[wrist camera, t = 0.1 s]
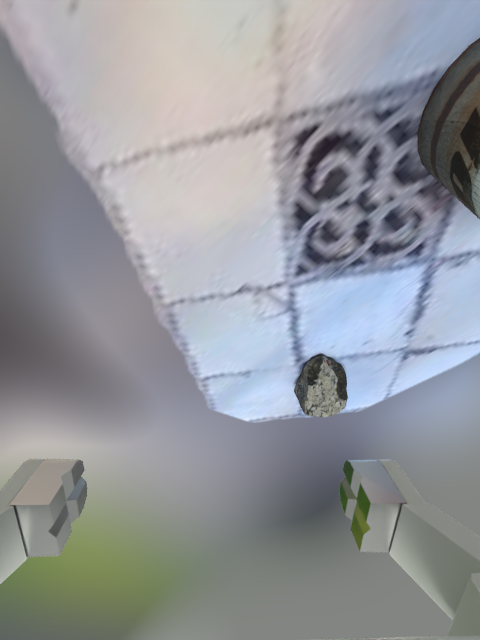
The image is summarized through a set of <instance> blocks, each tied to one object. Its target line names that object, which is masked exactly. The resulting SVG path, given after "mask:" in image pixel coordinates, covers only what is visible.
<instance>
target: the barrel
mask: <svg viewBox="0 0 480 640" xmlns="http://www.w3.org/2000/svg"><path fill="white" fill-rule="evenodd" d="M418 153H419V156H420V159H421V162H422V164H423V166H424V167H425V168H426V169H427V170H428V171H429V173H430V174H431V175H432V176H433V177H435V178H436V179H437V180H438V181H439V182H440V183H441V184H442V185H443V186H444V187H445V188H446V189H448V190H449V191H450V192H451V193H452V194H453V195H454V196H455V197H456V198H457V199H458V200H459V201H461V202H462V203H463V204H464V205H465V206H466V207H467V208H468V209H469V210H470V211H471V212H472V213H474V214H475V215H476V216H477V217H478V218H479V219H480V38H479V39H478V40H477V41H475V42H474V43H472V44H471V45H470V46H469V47H468V48H467V49H466V50H465V51H464V52H463V53H462V54H461V55H460V56H459V57H458V58H457V59H456V60H455V61H454V62H453V63H452V65H451V66H450V67H449V68H448V69H447V71H446V72H445V74H444V75H443V77H442V78H441V79H440V81H439V82H438V84H437V85H436V87H435V88H434V90H433V91H432V94H431V96H430V98H429V100H428V102H427V104H426V106H425V109H424V111H423V113H422V117H421V121H420V125H419V129H418Z"/></svg>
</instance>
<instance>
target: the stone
mask: <svg viewBox="0 0 480 640" xmlns="http://www.w3.org/2000/svg"><path fill="white" fill-rule="evenodd" d="M346 387H347V380H346V373H345V370H344V368H343V367H342V366H341V365H340V364H338V363H335V362H334V361H333V360H332V359H331V358H330V357H325V356H323V355H319V356H317V357H315V358H313V359H311V361H309V362H307V363H306V365H305V366H304V367H303V370H302V374H301V376H300V378H299V380H298V382H297V384H296V386H295V389H294V392H295V395H296V397H297V398H298V400H299V403H300V406H301V408H302V410H303V412H304V414H306V415H308V416H313V417H317V416H319V417H327V416H332V415H335V414H337V413H338V412H340V411H341V410H342V409H344V408H345V406H346V402H347V399H348V396H347V391H346Z"/></svg>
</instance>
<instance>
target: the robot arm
mask: <svg viewBox="0 0 480 640" xmlns="http://www.w3.org/2000/svg"><path fill="white" fill-rule="evenodd" d="M83 472H84V466H83V461H81V460H68V459H65V460H64V459H29V460H27V461H25V462H24V463H23V464H22V465H21V466H20V468H19V469H18V470H17V471H16V472H15V473H14V475H13V476H12V477H11V478H10V479H9V480H8V482H7V483H6V484H5V485H4V486H3V488H2V489H1V490H0V584H1V583H2V582H3V581H4V580H5V579H6V578H7V577H8V576H9V575H10V574H11V573H12V572H14V571H15V570H16V569H17V568H18V567H19V566H20V565H21V564H22V563H23V562H24V561H25V560H27V557H41V556H60V554H61V552H62V550H63V548H64V546H65V544H66V542H67V540H68V538H69V536H70V534H71V532H72V530H71V523H72V522H73V521H74V520H76V519H77V518H78V517H79V516H80V514H81V512H82V510H83V508H84V504H85V500H86V497H87V484H86V481H85V480H84V479H83V478H82V477H81V475H82V473H83ZM343 472H344V474H345V476H346V477H345V478H344V479H342V481H341V483H340V501H341V504H342V508H343V511H344V513H345V515H346V516H347V517H348V518H349V519H350V520H352V525H351V531H352V533H353V536H354V539H355V541H356V544H357V546H358V548H359V551H360V552H390V553H389V554H390V555H391V557H392V558H393V559H394V560H395V561H396V562H397V563H398V564H399V565H400V566H401V567H402V568H403V569H404V570H405V571H406V572H407V573H408V574H409V575H410V576H411V577H412V578H413V580H415V582H416V583H417V584H418V585H419V586H420V587H421V588H422V589H423V590H424V591H425V592H426V593H427V594H428V595H429V596H430V597H431V598H432V599H433V600H434V601H435V603H437V604H438V606H439V607H440V608H441V609H442V610H443V611H444V612H445V613H446V614H447V615H448V616H449V617H450V618H451V619H452V620H453V622H452V624H451V627H450V629H449V632H448V634H447V636H432V637H431V636H429V637H392V638H353V639H317V640H480V537H479V536H478V535H476V534H475V533H473V532H472V531H470V530H469V529H467V528H466V527H464V526H462V525H461V524H460V523H458V522H457V521H455V520H454V519H452V518H451V517H449V516H448V515H446V514H445V513H443V512H442V511H441V510H439V509H437V508H436V507H435V506H433V505H432V504H426V503H425V502H424V500H423V499H422V497H421V496H420V495H419V493H418V492H417V490H416V489H415V488H414V486H413V485H412V483H411V482H410V480H409V479H408V478H407V476H406V475H405V473H404V472H403V471H402V469H401V468H400V466H399V465H398V463H397V462H396V461H394V460H346V461H345V463H344V466H343Z"/></svg>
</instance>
